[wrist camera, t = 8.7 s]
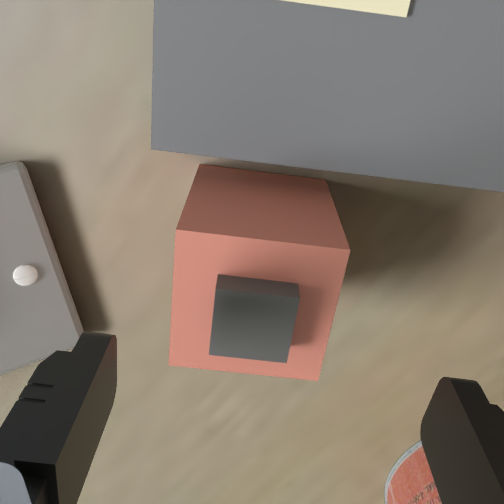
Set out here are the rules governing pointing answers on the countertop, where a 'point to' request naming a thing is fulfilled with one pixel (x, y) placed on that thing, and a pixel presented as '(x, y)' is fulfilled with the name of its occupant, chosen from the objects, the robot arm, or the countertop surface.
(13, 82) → the countertop surface
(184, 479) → the countertop surface
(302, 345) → the pink square block
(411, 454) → the canned food
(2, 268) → the light switch
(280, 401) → the countertop surface
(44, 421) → the robot arm
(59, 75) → the countertop surface
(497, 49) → the panel
